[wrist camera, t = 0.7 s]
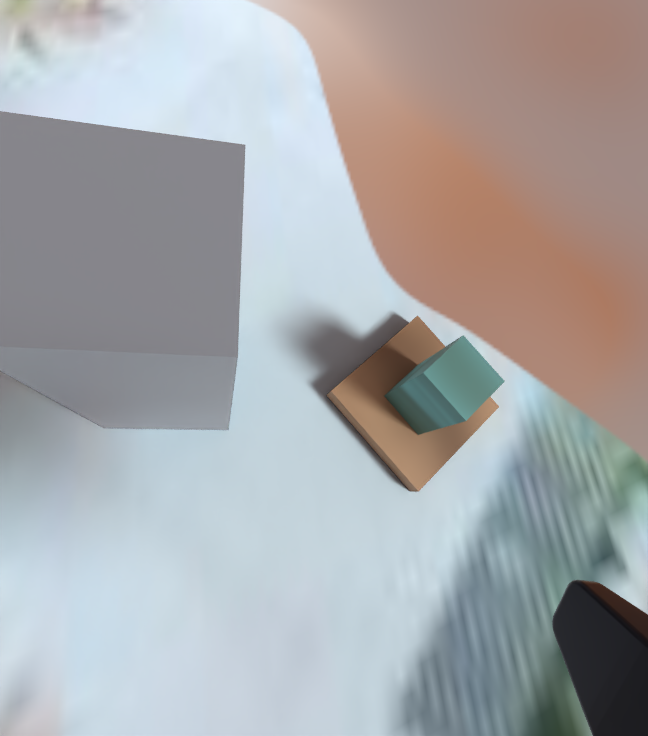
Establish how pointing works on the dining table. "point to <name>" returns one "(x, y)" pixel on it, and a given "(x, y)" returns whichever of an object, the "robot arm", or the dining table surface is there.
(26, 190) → the tall grey pillar
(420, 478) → the post plinth
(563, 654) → the robot arm
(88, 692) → the dining table surface
